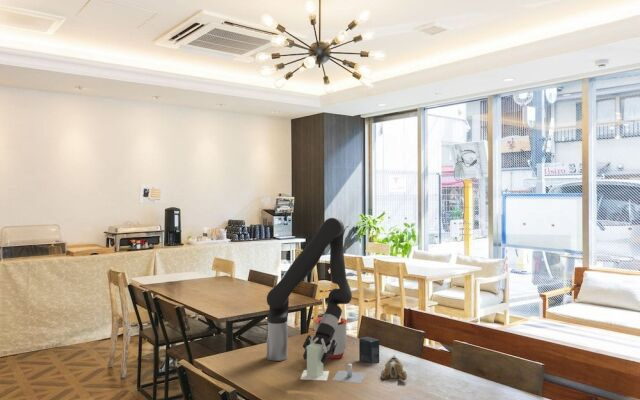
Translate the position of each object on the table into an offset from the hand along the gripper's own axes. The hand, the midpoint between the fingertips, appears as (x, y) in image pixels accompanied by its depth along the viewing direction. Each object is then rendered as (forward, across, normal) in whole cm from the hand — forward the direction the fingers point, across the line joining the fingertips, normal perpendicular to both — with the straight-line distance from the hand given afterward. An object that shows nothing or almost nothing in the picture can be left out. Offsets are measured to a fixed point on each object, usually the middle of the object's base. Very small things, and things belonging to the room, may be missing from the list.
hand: (313, 360), depth 204 cm
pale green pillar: (+4, 0, +6) cm, 7 cm away
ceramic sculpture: (-8, +28, +19) cm, 35 cm away
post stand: (0, +13, +10) cm, 17 cm away
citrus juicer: (-16, -9, +27) cm, 33 cm away
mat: (+4, 0, +6) cm, 8 cm away
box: (-17, +11, +28) cm, 34 cm away
